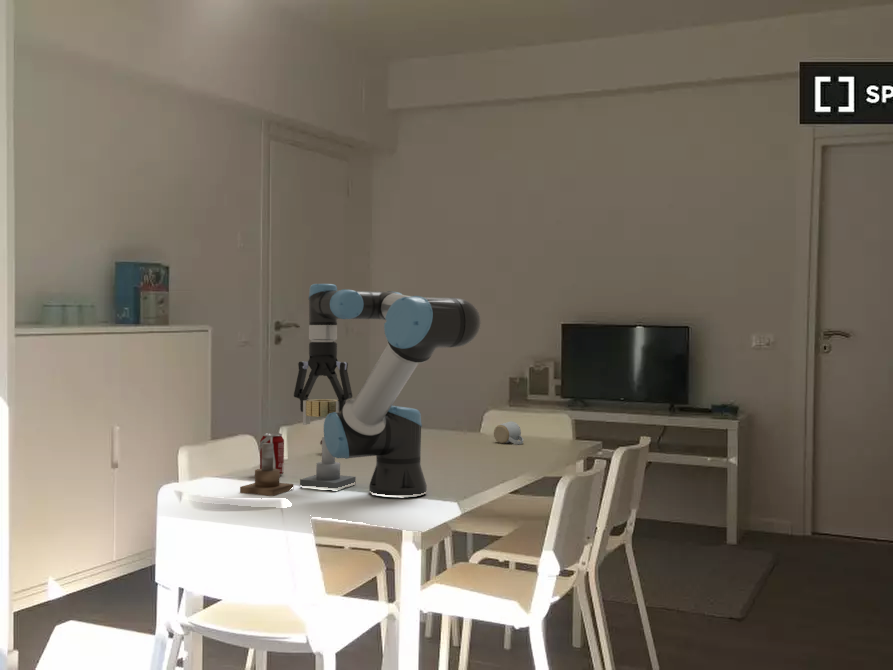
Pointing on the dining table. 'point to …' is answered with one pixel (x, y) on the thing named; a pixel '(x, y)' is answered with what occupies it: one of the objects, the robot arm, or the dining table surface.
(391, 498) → the dining table surface
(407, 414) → the robot arm
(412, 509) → the dining table surface
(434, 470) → the dining table surface
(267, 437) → the soda can
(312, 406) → the collar
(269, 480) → the stand
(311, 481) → the hub
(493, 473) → the dining table surface
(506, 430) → the ceramic mug
